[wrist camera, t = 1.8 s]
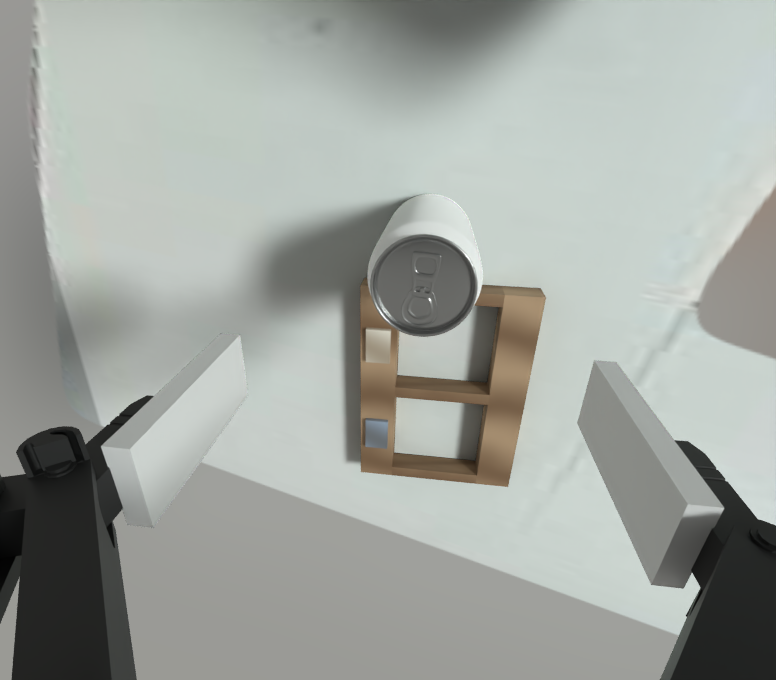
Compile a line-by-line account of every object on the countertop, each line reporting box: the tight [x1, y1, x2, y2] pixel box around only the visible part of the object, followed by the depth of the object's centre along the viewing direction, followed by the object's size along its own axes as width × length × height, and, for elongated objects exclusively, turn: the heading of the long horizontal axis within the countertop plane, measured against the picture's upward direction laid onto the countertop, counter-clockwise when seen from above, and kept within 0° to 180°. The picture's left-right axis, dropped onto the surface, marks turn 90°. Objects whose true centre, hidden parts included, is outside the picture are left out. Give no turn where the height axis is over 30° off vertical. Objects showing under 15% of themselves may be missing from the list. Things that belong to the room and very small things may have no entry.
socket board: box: [360, 278, 546, 487], centre depth 38 cm, size 19×14×2 cm
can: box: [367, 194, 483, 337], centre depth 28 cm, size 6×6×12 cm
